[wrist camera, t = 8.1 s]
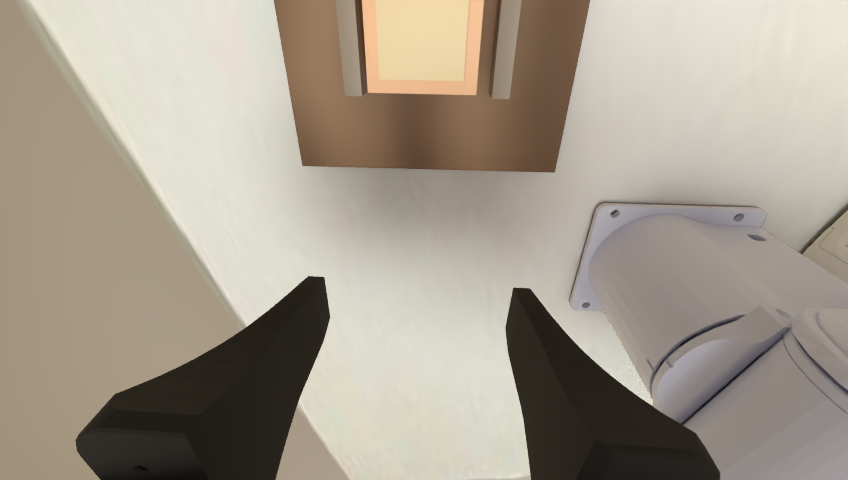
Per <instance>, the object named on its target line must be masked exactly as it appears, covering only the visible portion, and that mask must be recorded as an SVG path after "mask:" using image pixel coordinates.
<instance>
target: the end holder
mask: <svg viewBox="0 0 848 480" xmlns="http://www.w3.org/2000/svg"><path fill="white" fill-rule="evenodd" d="M589 3H590V0H484V7H483V19H482V31H481V43H480V55H479V67H478V79H477V91H476V95H445V94H401V93H368V88H367V72H366V57H365V41H364V25H363V10H362V0H274V4H275V10H276V15H277V21H278V27H279V33H280V38H281V44H282V50H283V56H284V61H285V67H286V73H287V79H288V85H289V90H290V96H291V102H292V108H293V113H294V119H295V125H296V131H297V136H298V142H299V148H300V154H301V160H302V165H303V166H329V167H368V168H406V169H445V170H484V171H522V172H555V169H556V164H557V159H558V154H559V149H560V144H561V139H562V135H563V130H564V125H565V120H566V115H567V110H568V105H569V101H570V96H571V91H572V86H573V81H574V76H575V71H576V67H577V62H578V57H579V52H580V47H581V42H582V37H583V33H584V28H585V23H586V18H587V13H588V8H589Z"/></svg>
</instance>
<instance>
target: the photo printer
mask: <svg viewBox="0 0 848 480" xmlns="http://www.w3.org/2000/svg"><path fill="white" fill-rule="evenodd" d="M802 255H804V256H805V257H807V258H808V259H810V260H811V261H813V262H814V263H816V264H817V265H819V266H820V267H822V268H823V269H825V270H826V271H828V272H830V273H831V274H833V275H834V276H836V277H837V278H839V279H840V280H842V281H843V282H845V283H846V284H848V210H847V211H846V212H845V213H844V214H843V215H842V216H841V217H840V218H839V219H838V220H836V221H835V222H834V223H833V224H832V225H831V226H830V227H829V228H828V229H826V230H825V231H824V232H823V233H822V234H821V235H820V236H819V237H818V238H817V239H816V240H815V241H814V242H813V243H812V244H811V245H810V246H809V247H808V248H807V250H806V251H805V252H804V253H803V254H802Z"/></svg>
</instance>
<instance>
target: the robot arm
mask: <svg viewBox="0 0 848 480" xmlns="http://www.w3.org/2000/svg"><path fill="white" fill-rule="evenodd" d="M613 210H617V211H616V213H615V214H612V215H610V213H611V212H612V211H613ZM737 214H739V215H738V216H737V217H736V218H734V217H735V216H736V215H737ZM765 218H766V212H765V211H764V210H762V209H760V208H756V207H722V206H687V205H653V204H619V203H604V204H601V205H599V206H598V207H597V208H596V210H595V214H594V217H593V221H592V224H591V228H590V231H589V235H588V238H587V242H586V245H585V249H584V252H583V256H582V259H581V263H580V267H579V270H578V274H577V277H576V281H575V284H574V288H573V291H572V295H571V298H570V305H571V307H572V308H573V309H575V310H592V311H604V312H605V313H606V315H607V317H608V319H609V321H610V323H611V324H612V326H613V328H614V330H615V332H616V333H617V335H618V337H619V339H620V341H621V343H622V344H623V346H624V348H625V350H626V352H627V354H628V355H629V357H630V359H631V361H632V363H633V365H634V366H635V368H636V370H637V372H638V374H639V376H640V377H641V379H642V381H643V383H644V385H645V387H646V388H647V390H648V392H649V394H650V396H651V398H652V399H653V406H651V405H650V404H648V403H647V402H645V401H644V400H642V399H641V398H639V397H638V396H637V395H635V394H634V393H633V392H631V391H630V390H628V389H627V388H626V387H625V386H623V385H622V384H621V383H619V382H618V381H617V380H616V379H614V378H613V377H612V376H610V375H609V374H608V373H607V372H606V371H604V370H603V369H602V368H601V367H600V366H599V365H598V364H597V363H595V362H594V361H593V360H592V359H591V358H590V357H589V356H588V355H587V354H586V353H585V352H584V351H582V350H581V349H580V348H579V347H578V345H577V344H576V343H575V342H574V341H573V340H572V339H571V338H570V337H569V336H568V335H567V334H566V333H565V331H564V330H563V329H562V328H561V327H560V326H559V324H558V323H557V322H556V321H555V320H554V319H553V317H552V316H551V315H550V314H549V312H548V311H547V310H546V309H545V307H544V306H543V305H542V303H541V302H540V301H539V300H538V298H537V297H536V296H535V294H534V293H533V292H532V291H531V289H529V288H513V292H512V297H511V303H510V308H509V313H508V318H507V323H506V337H507V346H508V353H509V358H510V362H511V367H512V371H513V375H514V379H515V383H516V388H517V392H518V396H519V400H520V404H521V409H522V414H523V419H524V426H525V433H526V441H527V448H528V457H529V465H530V473H531V480H848V284H846V283H845V282H843V281H842V280H840V279H839V278H837V277H836V276H834V275H833V274H831V273H830V272H828V271H826V270H825V269H823V268H822V267H820V266H819V265H817V264H816V263H814V262H813V261H811V260H810V259H808V258H807V257H805V256H804V255H802V254H801V253H799V252H797V251H796V250H794V249H793V248H791V247H790V246H788V245H787V244H785V243H784V242H782V241H781V240H779V239H778V238H776V237H775V236H773V235H771V234H770V233H768V232H767V231H765V230H764V229H762V228H761V225H762V223H763V221H764V220H765ZM585 302H587V303H586V304H583V303H585ZM329 319H330V313H329V306H328V299H327V293H326V286H325V279H324V277H313V276H308V277H307V278H306V279H305V280H304V281H302V282H301V283H300V284H299V285H298V286H297V287H296V288H294V289H293V290H292V291H291V292H290V293H289V294H288V295H286V296H285V297H284V298H283V299H282V300H281V301H279V302H278V303H277V304H276V305H275V306H273V307H272V308H271V309H270V310H269V311H267V312H266V313H265V314H263V315H262V316H261V317H259V318H258V319H257V320H256V321H254V322H253V323H252V324H250V325H249V326H248V327H246V328H245V329H243V330H242V331H240V332H239V333H237V334H236V335H234V336H233V337H231V338H230V339H228V340H227V341H225V342H224V343H222V344H220V345H218V346H217V347H215V348H213V349H211V350H210V351H208V352H206V353H204V354H203V355H201V356H199V357H197V358H196V359H194V360H192V361H190V362H188V363H186V364H184V365H182V366H180V367H178V368H176V369H173V370H171V371H169V372H167V373H165V374H163V375H161V376H158V377H156V378H154V379H151V380H149V381H147V382H144V383H142V384H139V385H137V386H134V387H132V388H130V389H127V390H125V391H122V392H120V393H117V394H115V395H114V396H113V397H112V398H111V399H110V400H109V401H108V402H107V404H106V405H105V406H104V407H103V408H102V409H101V410H100V411H99V413H98V414H97V415H96V416H95V417H94V418H93V419H92V420H91V421H90V423H89V424H88V425H87V426H86V427H85V428H84V429H83V431H81V433H80V434H79V435H78V437H77V439H76V447H77V451H78V453H79V454H80V456H81V457H82V458H83V460H84V461H85V462H86V463H87V464H88V465H89V467H90V468H91V469H92V470H93V471H94V472H95V474H96V475H97V476H98V477H99V478H100V479H101V480H275V479H276V475H277V471H278V468H279V464H280V460H281V457H282V453H283V450H284V446H285V442H286V439H287V436H288V432H289V429H290V426H291V423H292V419H293V416H294V413H295V410H296V407H297V404H298V401H299V398H300V396H301V393H302V391H303V388H304V386H305V383H306V381H307V379H308V376H309V374H310V372H311V369H312V367H313V365H314V362H315V360H316V358H317V355H318V353H319V351H320V348H321V346H322V343H323V341H324V337H325V334H326V331H327V327H328V323H329Z"/></svg>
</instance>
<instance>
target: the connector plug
mask: <svg viewBox="0 0 848 480" xmlns="http://www.w3.org/2000/svg"><path fill="white" fill-rule="evenodd" d="M483 7H484V0H362V10H363V25H364V41H365V57H366V72H367V88H368V93H401V94H445V95H476V91H477V79H478V67H479V55H480V43H481V31H482V19H483Z"/></svg>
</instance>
